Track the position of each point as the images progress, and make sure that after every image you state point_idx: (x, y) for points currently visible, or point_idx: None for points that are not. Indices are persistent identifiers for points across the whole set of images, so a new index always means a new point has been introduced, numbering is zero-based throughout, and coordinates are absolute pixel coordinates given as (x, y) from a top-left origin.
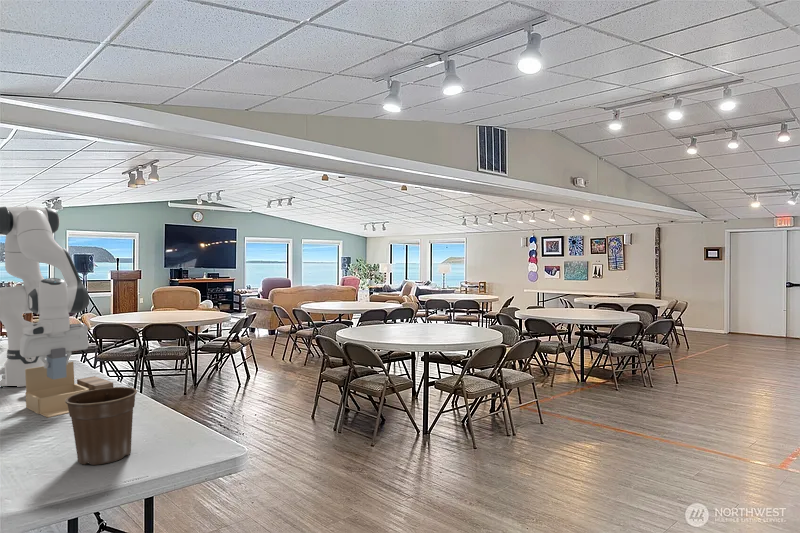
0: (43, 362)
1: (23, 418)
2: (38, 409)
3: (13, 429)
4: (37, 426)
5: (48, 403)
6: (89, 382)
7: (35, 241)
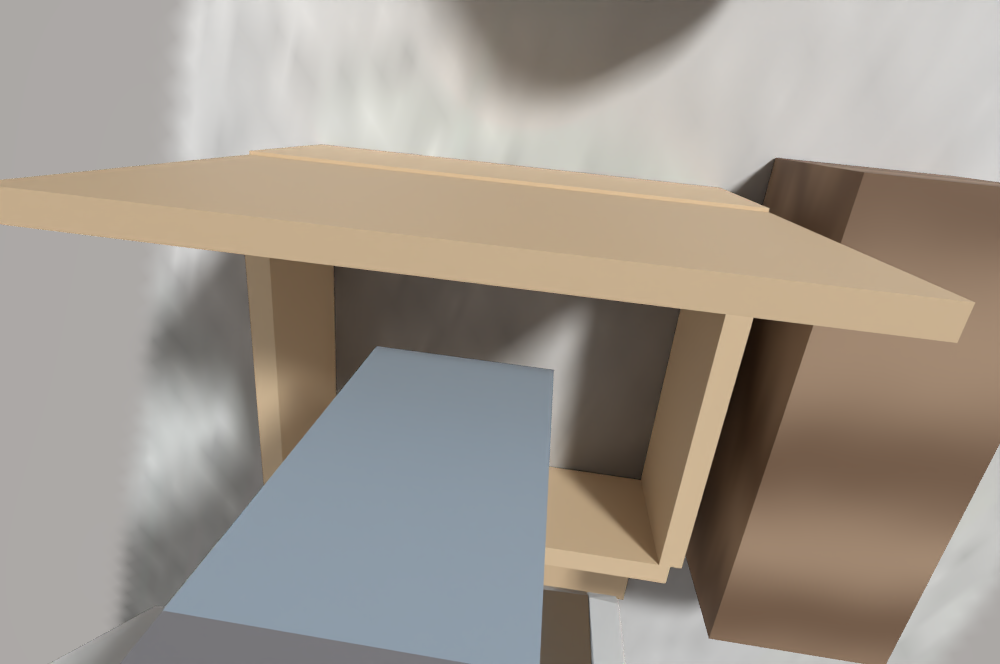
0: (150, 623)
1: (230, 439)
2: None
3: (152, 579)
4: None
5: None
6: (795, 473)
7: None
